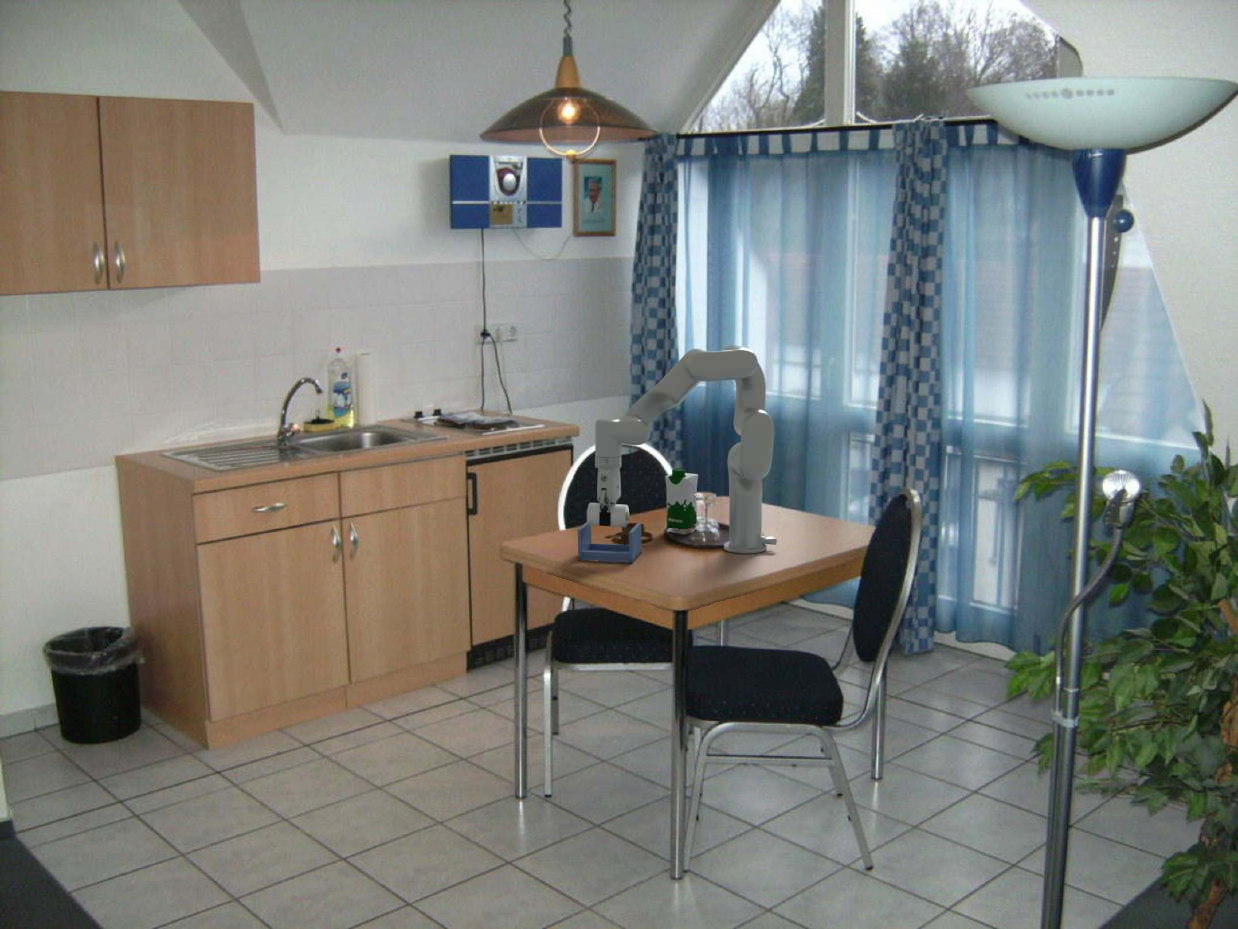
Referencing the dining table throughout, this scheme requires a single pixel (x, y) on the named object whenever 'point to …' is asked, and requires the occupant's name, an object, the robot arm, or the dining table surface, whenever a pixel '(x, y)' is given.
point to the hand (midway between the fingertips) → (607, 522)
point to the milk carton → (681, 499)
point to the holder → (609, 547)
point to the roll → (617, 514)
